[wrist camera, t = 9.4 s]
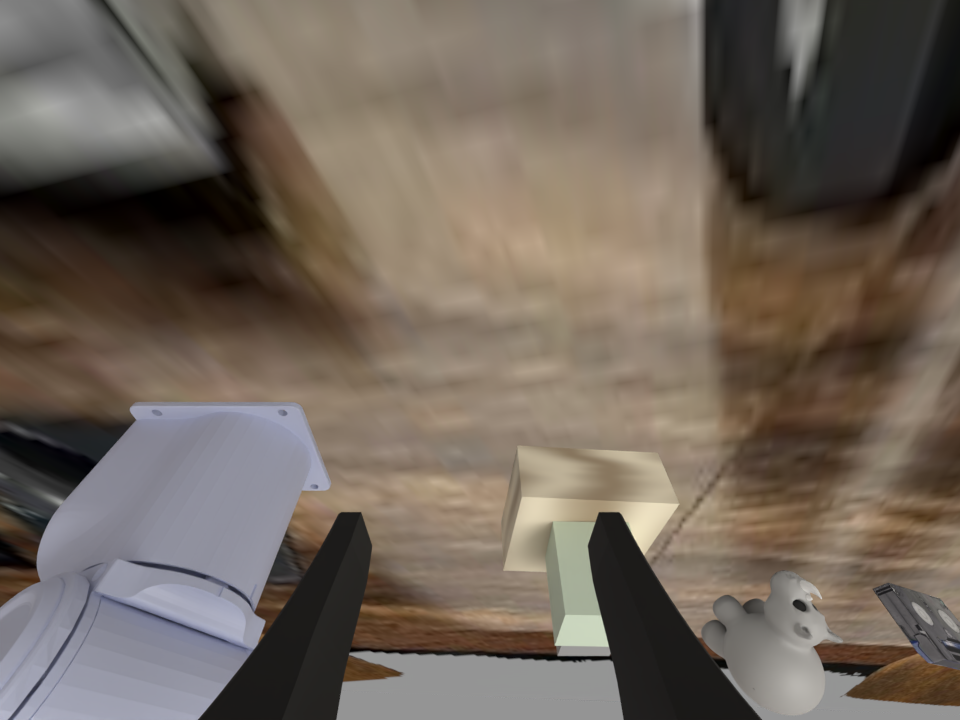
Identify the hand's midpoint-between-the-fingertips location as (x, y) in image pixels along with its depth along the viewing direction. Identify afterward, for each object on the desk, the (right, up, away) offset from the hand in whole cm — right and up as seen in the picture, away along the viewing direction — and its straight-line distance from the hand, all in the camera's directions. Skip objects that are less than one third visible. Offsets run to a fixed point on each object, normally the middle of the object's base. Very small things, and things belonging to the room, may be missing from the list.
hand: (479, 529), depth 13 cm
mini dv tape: (+41, -17, +27) cm, 52 cm away
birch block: (+6, -4, +16) cm, 18 cm away
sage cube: (+7, -6, +13) cm, 16 cm away
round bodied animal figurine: (+26, -17, +26) cm, 41 cm away
